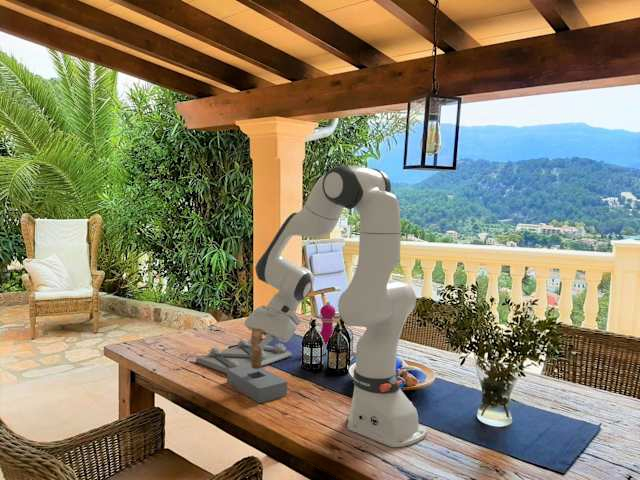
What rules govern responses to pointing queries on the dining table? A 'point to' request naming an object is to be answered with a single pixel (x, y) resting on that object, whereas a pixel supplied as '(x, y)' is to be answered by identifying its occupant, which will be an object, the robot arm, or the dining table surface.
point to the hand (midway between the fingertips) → (255, 345)
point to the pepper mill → (327, 321)
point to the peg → (256, 349)
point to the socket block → (257, 383)
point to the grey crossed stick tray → (241, 356)
